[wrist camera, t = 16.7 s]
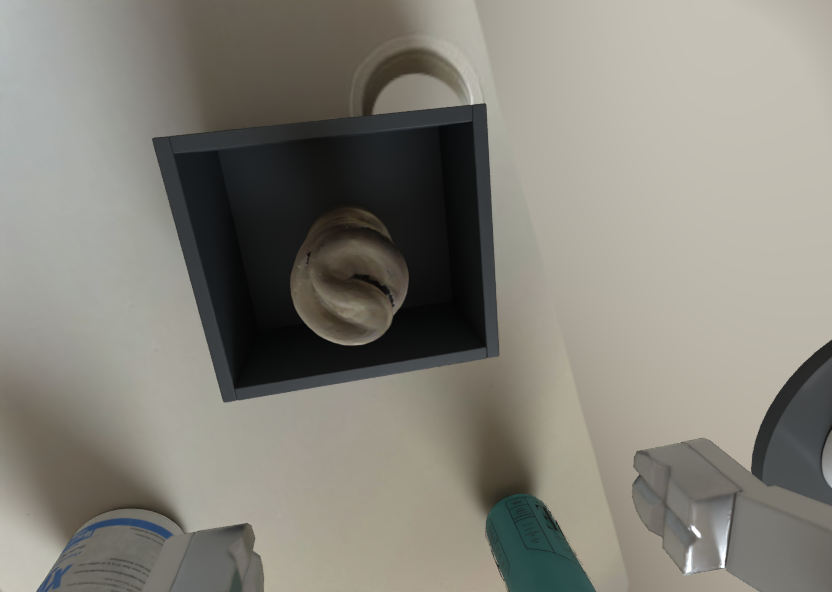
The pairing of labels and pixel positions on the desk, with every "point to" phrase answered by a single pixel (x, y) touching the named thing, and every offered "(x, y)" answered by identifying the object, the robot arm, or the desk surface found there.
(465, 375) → the desk surface
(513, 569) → the beverage bottle
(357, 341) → the light bulb
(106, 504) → the desk surface
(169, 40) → the desk surface
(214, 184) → the bin
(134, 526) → the supplement tub
